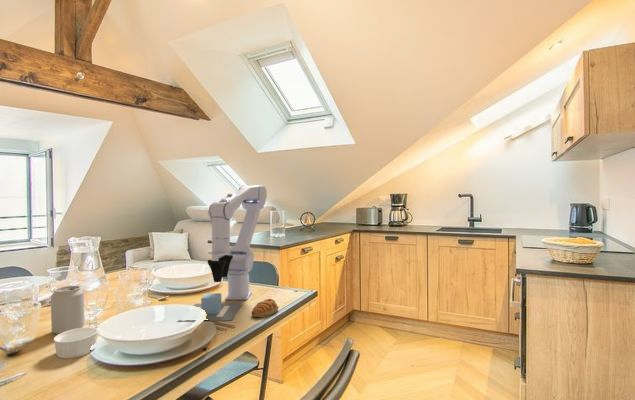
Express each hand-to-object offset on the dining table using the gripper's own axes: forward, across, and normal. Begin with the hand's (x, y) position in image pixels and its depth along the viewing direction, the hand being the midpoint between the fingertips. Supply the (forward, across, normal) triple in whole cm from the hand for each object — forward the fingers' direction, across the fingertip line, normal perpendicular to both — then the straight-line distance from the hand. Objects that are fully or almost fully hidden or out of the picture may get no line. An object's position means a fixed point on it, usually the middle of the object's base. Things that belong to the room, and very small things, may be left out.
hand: (220, 279), depth 117 cm
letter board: (+10, +4, -2) cm, 11 cm away
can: (+11, +18, -38) cm, 43 cm away
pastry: (+10, +5, +15) cm, 19 cm away
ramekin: (+11, +31, -27) cm, 42 cm away
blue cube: (+9, +4, -2) cm, 10 cm away
